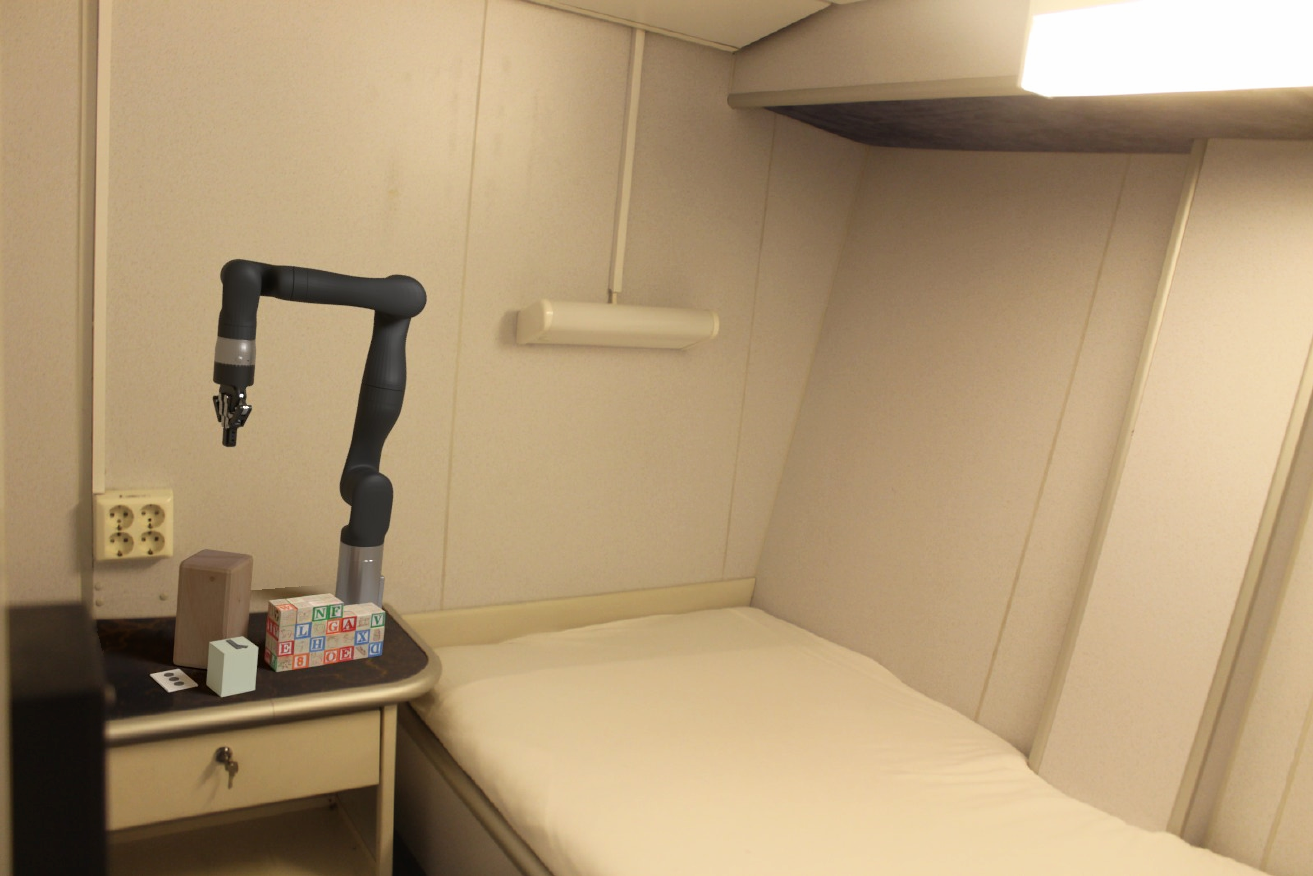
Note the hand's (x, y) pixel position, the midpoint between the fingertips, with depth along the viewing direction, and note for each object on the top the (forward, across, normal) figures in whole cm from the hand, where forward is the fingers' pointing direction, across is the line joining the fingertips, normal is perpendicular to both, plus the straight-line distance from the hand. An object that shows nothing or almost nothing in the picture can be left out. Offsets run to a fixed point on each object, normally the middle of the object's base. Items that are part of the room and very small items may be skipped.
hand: (228, 446), depth 197 cm
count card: (+37, -24, +18) cm, 48 cm away
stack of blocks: (+37, -27, -9) cm, 47 cm away
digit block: (+37, -31, +11) cm, 50 cm away
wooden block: (+37, -18, +9) cm, 42 cm away
